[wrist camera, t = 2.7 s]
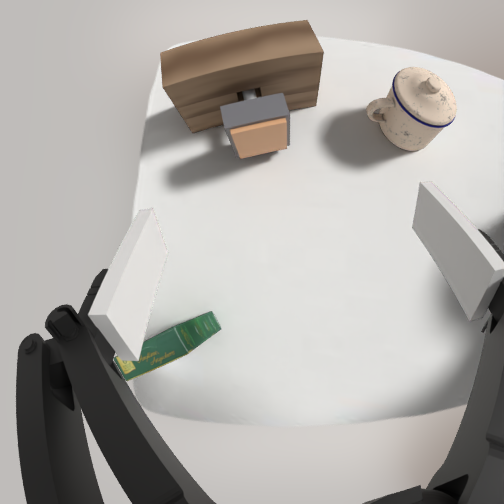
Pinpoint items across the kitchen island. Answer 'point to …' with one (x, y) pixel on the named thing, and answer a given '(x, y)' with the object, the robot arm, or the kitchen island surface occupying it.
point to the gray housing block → (257, 124)
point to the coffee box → (170, 345)
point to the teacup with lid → (414, 108)
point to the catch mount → (242, 70)
